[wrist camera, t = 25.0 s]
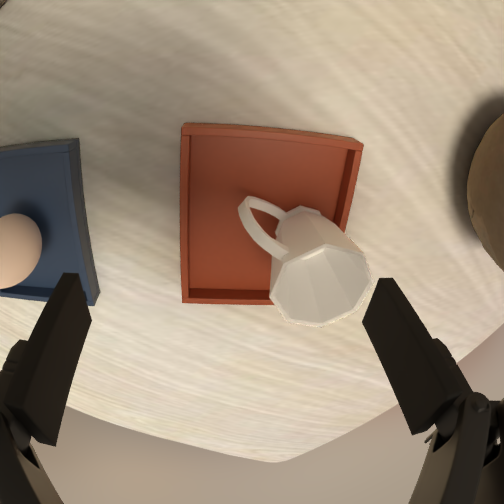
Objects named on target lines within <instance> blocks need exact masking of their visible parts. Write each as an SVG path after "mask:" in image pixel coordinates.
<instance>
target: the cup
mask: <svg viewBox="0 0 504 504" xmlns="http://www.w3.org/2000/svg"><path fill="white" fill-rule="evenodd" d="M250 207H251V208H255V209H258V210H261V211H264V212H267V213H269V214H271V215H273V216H275V217H276V218H277V219H279V223H278V225H277V228H276V231H275V234H276V236H277V237H276V240H275V239H273V238H271V237H270V236H269V235H268V234H267V233H266V232H265V231H264V230H263V229H262V228H261V226H260V225H259V224H258V223H257V221H256V220H255V219H254V217H253V215H252V212H251V210H250ZM238 212H239V216H240V219H241V221H242V223H243V226H244V228H245V229H246V230H247V232H248V233H249V234H250V236H251V237H252V238H253V240H254V241H255V242H256V243H257V244H258V245H260V246H261V247H262V248H263V249H264V250H266V251H267V252H268V253H270V254H271V255H272V264H271V280H270V293H269V298H270V299H271V301H272V302H273V303H274V305H275V306H276V308H277V309H278V311H279V312H280V314H281V315H282V316H283V318H284V319H285V321H286V322H287V323H293V324H300V325H307V326H314V327H321V328H322V327H324V326H327V325H329V324H331V323H333V322H336V321H338V320H340V319H342V318H344V317H347V316H349V315H351V314H353V313H355V312H357V310H358V309H359V307H360V305H361V304H362V302H363V301H364V299H365V297H366V296H367V294H368V292H369V291H370V289H371V287H372V286H373V284H374V280H373V277H372V274H371V271H370V269H369V266H368V263H367V260H366V258H365V255H364V253H363V252H362V251H361V250H360V249H359V248H358V247H357V245H356V244H354V243H353V242H352V241H351V240H350V239H349V238H348V237H347V236H346V235H345V234H344V233H343V232H342V231H341V229H340V228H339V227H338V226H337V225H336V224H334V223H333V222H331V221H330V220H328V219H327V218H325V217H324V216H321V214H320V212H319V210H315V209H312V208H308V207H304V206H301V205H300V206H298V207H296V208H294V209H292V210H290V211H288V212H285V211H284V210H282V209H281V208H280V207H278V206H276V205H274V204H272V203H270V202H267V201H265V200H262V199H259V198H257V197H252V196H247V197H246V198H245V200H244V201H243V202H242V203H241V204H240V205H239V207H238Z"/></svg>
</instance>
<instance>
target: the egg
mask: <svg viewBox="0 0 504 504" xmlns="http://www.w3.org/2000/svg"><path fill="white" fill-rule="evenodd" d="M41 251H42V237H41V233H40V230H39V228H38V226H37V224H36V223H35V222H34V221H33V220H32V219H31V218H29V217H28V216H25V215H23V214H14V213H13V214H9V215H5V216H3V217H1V218H0V289H3V288H8V287H12V286H14V285H16V284H18V283H20V282H22V281H23V280H24V279H25V278H27V277H28V276H29V274H30V273H31V272H32V271H33V270H34V268H35V266H36V265H37V263H38V261H39V258H40V255H41Z"/></svg>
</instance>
